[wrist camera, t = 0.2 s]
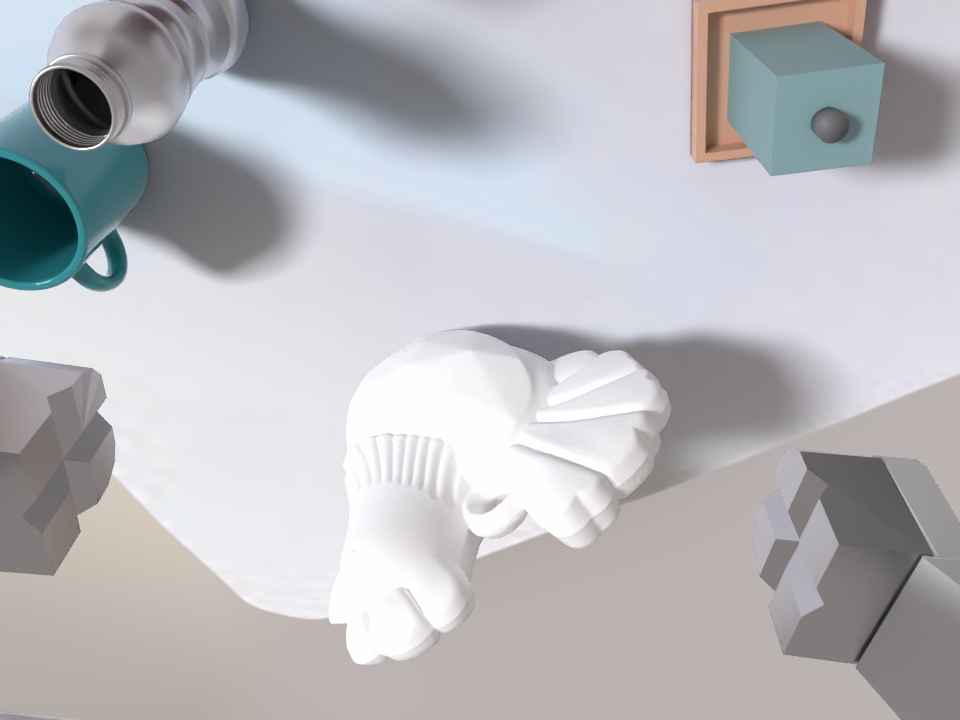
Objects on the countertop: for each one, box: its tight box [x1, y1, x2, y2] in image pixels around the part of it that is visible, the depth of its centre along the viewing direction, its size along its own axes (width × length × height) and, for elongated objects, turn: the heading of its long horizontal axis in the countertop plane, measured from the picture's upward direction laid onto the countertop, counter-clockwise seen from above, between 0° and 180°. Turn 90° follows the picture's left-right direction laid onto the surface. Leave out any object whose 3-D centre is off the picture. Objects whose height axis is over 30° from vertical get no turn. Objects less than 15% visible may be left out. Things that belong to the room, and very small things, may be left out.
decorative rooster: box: [329, 330, 671, 665], centre depth 57 cm, size 25×16×25 cm, turn 111°
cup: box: [0, 101, 148, 292], centre depth 53 cm, size 9×12×11 cm
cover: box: [727, 21, 885, 176], centre depth 48 cm, size 6×6×11 cm
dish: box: [690, 0, 867, 163], centre depth 52 cm, size 10×10×3 cm
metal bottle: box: [29, 0, 249, 151], centre depth 43 cm, size 6×7×20 cm
